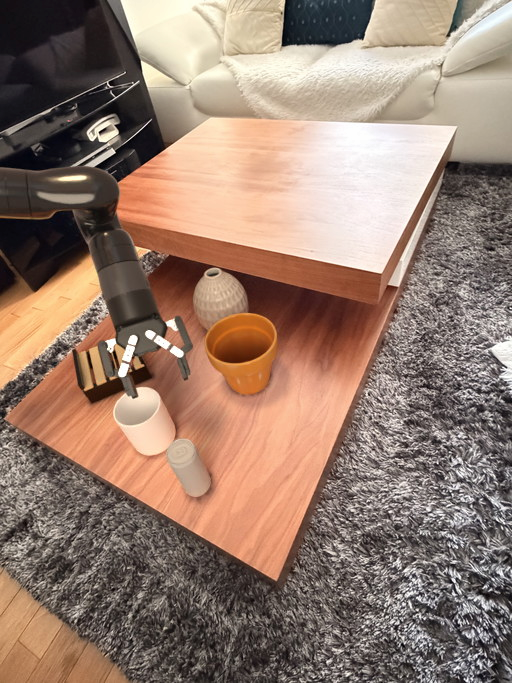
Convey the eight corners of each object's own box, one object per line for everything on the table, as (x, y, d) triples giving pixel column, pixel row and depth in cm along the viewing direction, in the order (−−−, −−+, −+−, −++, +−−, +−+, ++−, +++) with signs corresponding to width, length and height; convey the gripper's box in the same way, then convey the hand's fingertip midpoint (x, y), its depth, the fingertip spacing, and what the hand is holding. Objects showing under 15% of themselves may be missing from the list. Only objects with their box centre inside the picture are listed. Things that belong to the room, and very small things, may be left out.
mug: (143, 406, 83) (124, 374, 75) (185, 429, 77) (170, 397, 69) (113, 437, 78) (90, 407, 70) (156, 464, 72) (136, 434, 65)
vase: (221, 354, 90) (205, 299, 78) (191, 328, 98) (173, 274, 86) (262, 326, 95) (253, 270, 83) (231, 303, 103) (219, 249, 91)
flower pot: (294, 388, 81) (289, 345, 71) (231, 416, 78) (218, 375, 69) (265, 346, 90) (258, 303, 81) (208, 370, 87) (194, 328, 78)
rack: (91, 404, 85) (78, 385, 80) (84, 368, 93) (71, 349, 88) (152, 377, 88) (142, 358, 83) (140, 345, 96) (131, 326, 91)
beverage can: (181, 479, 70) (161, 445, 61) (206, 467, 71) (190, 432, 62) (189, 503, 66) (169, 471, 58) (215, 490, 68) (199, 456, 59)
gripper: (172, 285, 68) (202, 373, 68) (91, 311, 66) (122, 401, 66) (169, 277, 60) (203, 375, 61) (77, 305, 58) (112, 407, 58)
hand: (161, 388), depth 63 cm, fingers open, 8 cm apart
